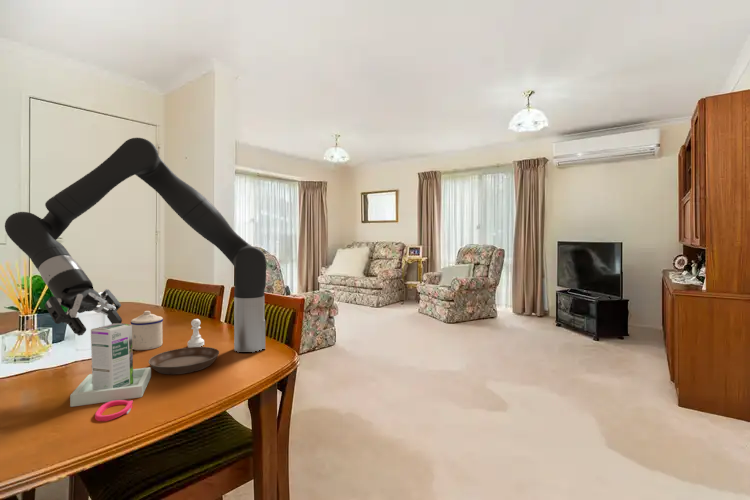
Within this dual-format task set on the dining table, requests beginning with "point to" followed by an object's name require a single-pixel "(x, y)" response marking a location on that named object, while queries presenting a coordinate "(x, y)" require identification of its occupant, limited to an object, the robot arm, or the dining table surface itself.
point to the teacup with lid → (146, 331)
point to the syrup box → (112, 356)
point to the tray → (110, 390)
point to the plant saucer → (184, 360)
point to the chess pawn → (195, 335)
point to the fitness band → (109, 417)
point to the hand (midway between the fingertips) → (101, 328)
